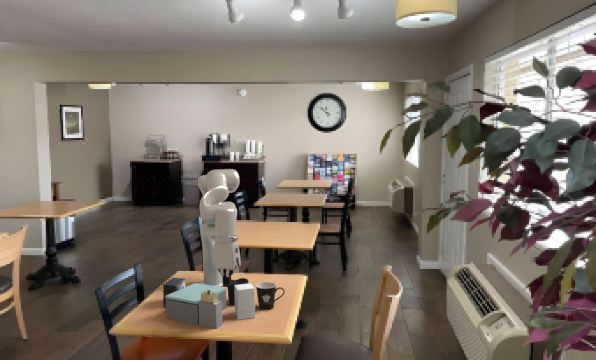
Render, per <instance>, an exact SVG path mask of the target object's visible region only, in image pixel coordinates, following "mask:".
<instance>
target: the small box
mask: <svg viewBox="0 0 596 360" xmlns="http://www.w3.org/2000/svg"><path fill="white" fill-rule="evenodd" d="M186 284H187V283H186V278H185V277H184V278H182V277H175V276H174V277H172V278H170V279H168V280H167V281H166V282H164V283H162V292H163V293H162V295H163V297H162V298H163V303H162V305H163V306H162V307H163V308H166V298H165V296H166V295H169V294H171V293H173V292H176V291H178V290H180V289H183V288H185V287H187V286H186Z"/></svg>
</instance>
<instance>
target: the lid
mask: <svg viewBox="0 0 596 360" xmlns="http://www.w3.org/2000/svg"><path fill="white" fill-rule="evenodd" d="M207 290H211V292H213V293H218V294H220V293H222V292H224V291H226V292H227V287H218V286H211V285H205V284H201V283H199V282H198V283H197V282H195V283H192V284H190V285H188V286H186V287H185V288H183V289H180V290H178V291H176V292H173V293H171V294H169V295H166V296H165V298H166V299H172V300H177V301H183V302H188V303H193V304H198V301H200V300H201V293H203V292H205V291H207Z"/></svg>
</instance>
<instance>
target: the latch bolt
mask: <svg viewBox="0 0 596 360" xmlns="http://www.w3.org/2000/svg"><path fill="white" fill-rule="evenodd" d="M201 301H205V302H210V303H214V302H216V301H218V293H213V292H211V290H207V291H205V292H203V293H201Z"/></svg>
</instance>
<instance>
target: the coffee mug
mask: <svg viewBox="0 0 596 360" xmlns="http://www.w3.org/2000/svg"><path fill="white" fill-rule="evenodd" d="M255 289H256V296H257V303H258V309H259V310H260V311H271V310H273V309H274V308H275V302H277V301H278V300H279V299H281V298H282V297H283V296H284V295H285V291H286V290H285V289H284V288H283V287H277V285H276V283H274V282H271V281H266V282H264V281H263V282H262V281H261V282H259V283H257V284H255ZM278 290H282V291H283V292H282V294H281V295H280V296H278V297H277V298H275V296H276V292H277V291H278Z"/></svg>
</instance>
